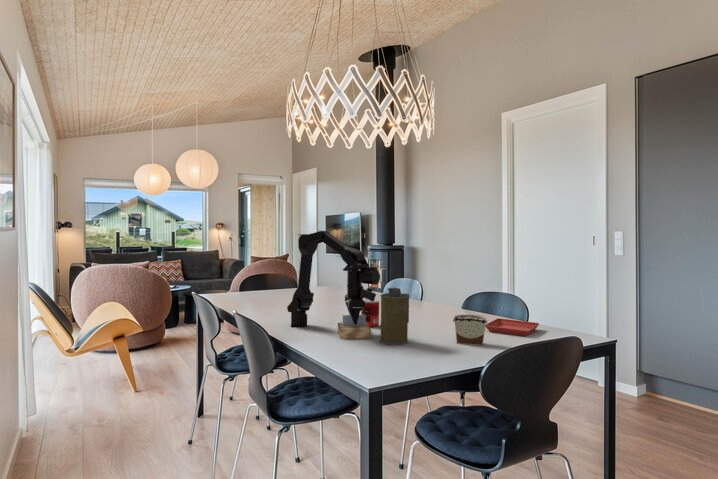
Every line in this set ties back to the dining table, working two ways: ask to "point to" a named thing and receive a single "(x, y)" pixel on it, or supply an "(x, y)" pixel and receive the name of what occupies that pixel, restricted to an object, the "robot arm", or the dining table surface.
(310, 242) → the robot arm
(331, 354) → the dining table surface
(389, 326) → the canister
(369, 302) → the canned food
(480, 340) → the food container
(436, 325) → the dining table surface
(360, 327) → the rack
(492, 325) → the plant saucer
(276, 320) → the dining table surface
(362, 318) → the blue-grey flat block
